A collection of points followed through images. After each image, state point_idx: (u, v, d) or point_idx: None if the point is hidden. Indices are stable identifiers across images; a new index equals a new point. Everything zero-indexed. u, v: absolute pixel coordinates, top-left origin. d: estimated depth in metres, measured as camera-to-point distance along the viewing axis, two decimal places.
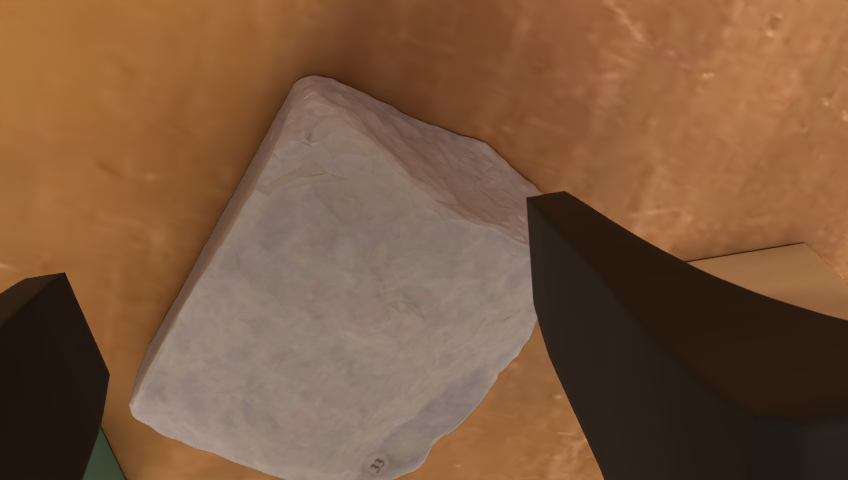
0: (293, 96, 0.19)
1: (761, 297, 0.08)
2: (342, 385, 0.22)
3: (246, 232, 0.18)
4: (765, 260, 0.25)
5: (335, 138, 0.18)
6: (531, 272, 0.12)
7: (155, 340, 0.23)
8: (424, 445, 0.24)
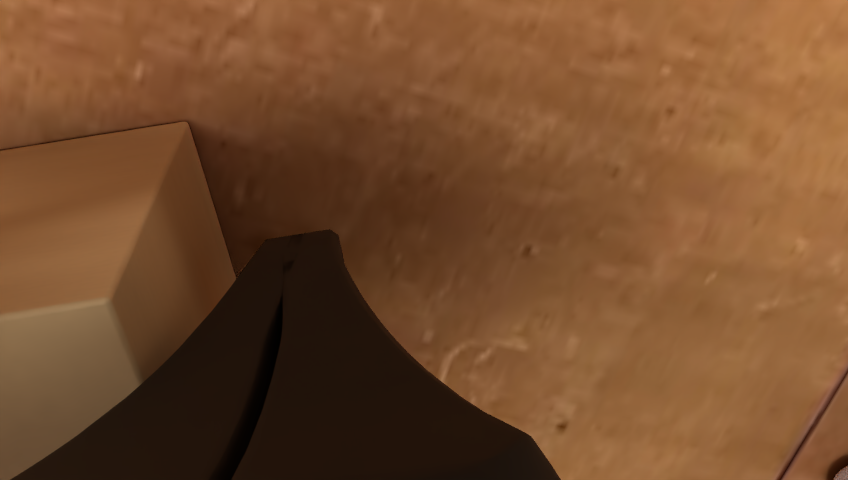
0: None
1: (401, 357, 0.08)
2: None
3: None
4: None
5: None
6: None
7: None
8: None
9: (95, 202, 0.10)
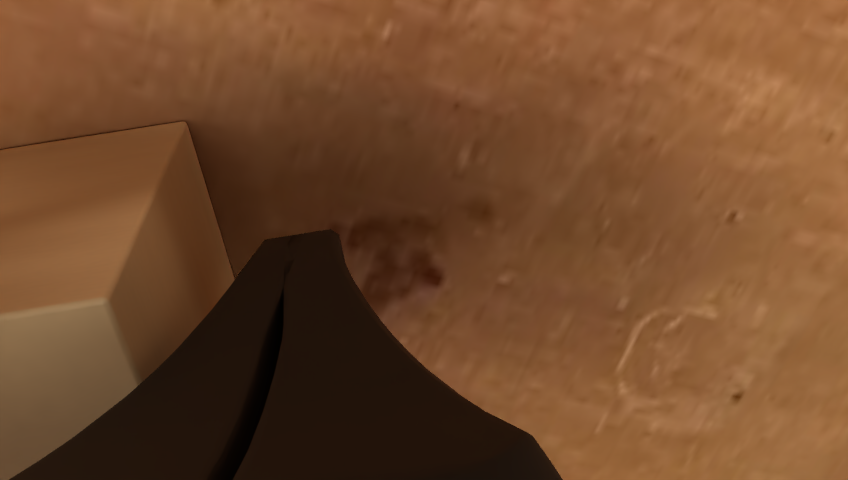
0: None
1: (402, 357, 0.08)
2: None
3: None
4: None
5: None
6: None
7: None
8: None
9: (93, 201, 0.10)
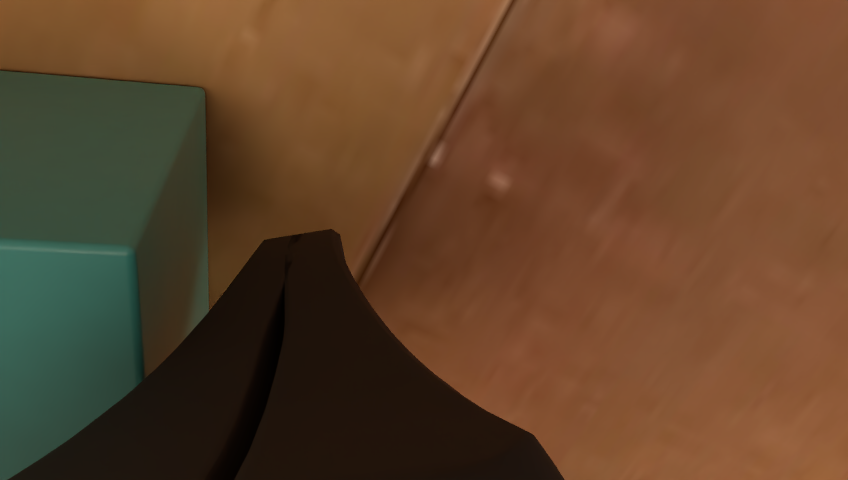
0: None
1: (403, 356, 0.08)
2: None
3: None
4: None
5: None
6: None
7: None
8: None
9: None
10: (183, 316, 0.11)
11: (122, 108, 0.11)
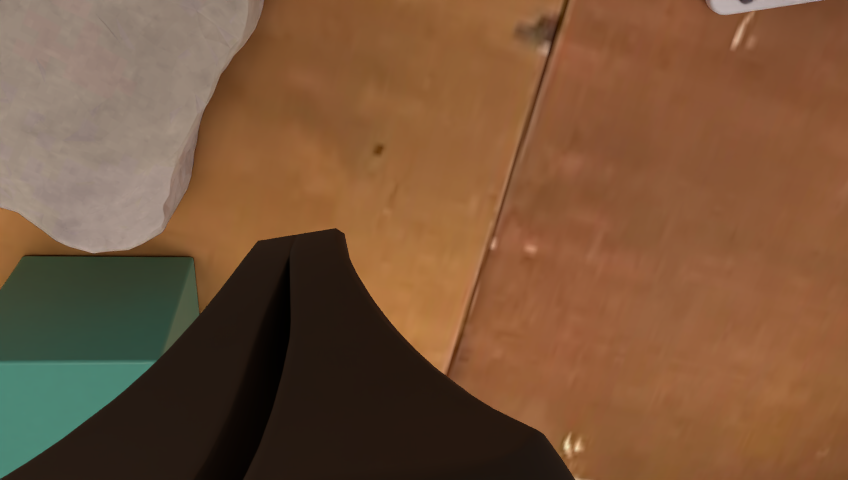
0: None
1: (411, 355, 0.08)
2: (18, 19, 0.16)
3: None
4: None
5: None
6: None
7: None
8: None
9: None
10: None
11: (153, 278, 0.22)
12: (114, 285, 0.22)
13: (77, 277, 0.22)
